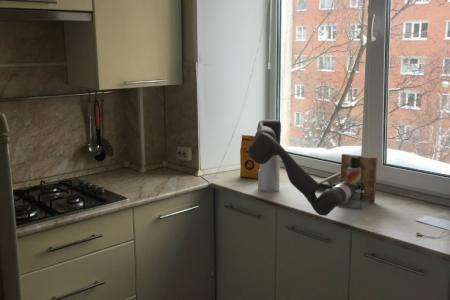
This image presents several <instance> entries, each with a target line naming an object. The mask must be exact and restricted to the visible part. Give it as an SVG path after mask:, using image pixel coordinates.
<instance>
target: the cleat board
mask: <svg viewBox="0 0 450 300" xmlns="http://www.w3.org/2000/svg"><path fill="white" fill-rule="evenodd" d="M352 156H353V157H358V158H360V159H359V167H360V168H361V183H363V184H364V185H365V192H364V194H363V195H362V194H361V193H360V201H357V200H351V199H349V200H347V201H346V202H344V203H342V204H340V205H339V206H340V207H346V208H350V209H351V208H352V209H359V210H363V209H364V208H366V206H369V204H370V205H374V204H375V202H376V201H375V200H376V188H377V187H376V186H377V169H378V166H377V165H378V157H374V156H367V155H358V154H357V155H356V154H347V153H343V154H341V162H340V164H341V165H340V166H341V167H340V172H341V175H340V182H347V171H348V167H350V158H351V157H352ZM339 206H338V207H339Z"/></svg>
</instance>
